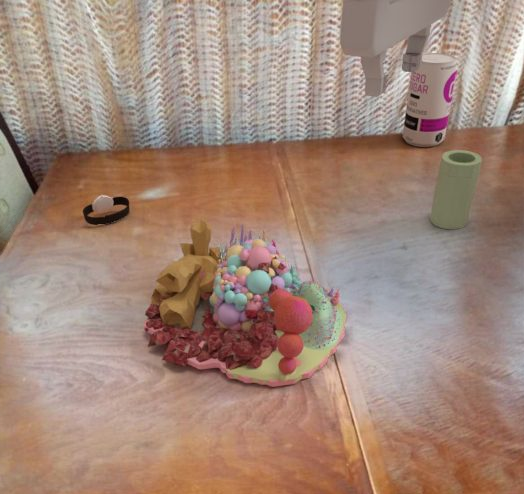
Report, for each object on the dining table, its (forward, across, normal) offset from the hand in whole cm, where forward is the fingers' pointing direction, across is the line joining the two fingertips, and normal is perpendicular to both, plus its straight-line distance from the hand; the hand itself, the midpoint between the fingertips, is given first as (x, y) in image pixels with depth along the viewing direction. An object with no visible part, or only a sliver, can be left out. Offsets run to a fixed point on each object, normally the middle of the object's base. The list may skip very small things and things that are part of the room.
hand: (393, 82), depth 60 cm
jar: (+24, +17, -4) cm, 29 cm away
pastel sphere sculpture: (+23, -19, +8) cm, 32 cm away
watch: (+23, -10, +43) cm, 50 cm away
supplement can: (+24, +46, +12) cm, 53 cm away
